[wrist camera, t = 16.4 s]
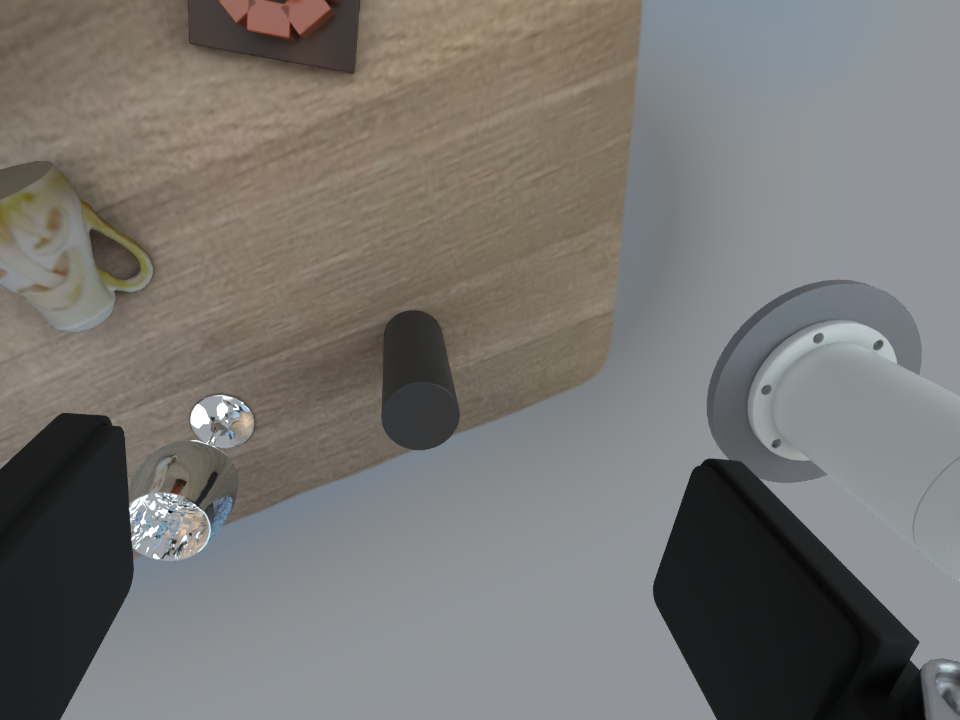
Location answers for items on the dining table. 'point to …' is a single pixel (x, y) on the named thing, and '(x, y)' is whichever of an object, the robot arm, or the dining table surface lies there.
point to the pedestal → (417, 383)
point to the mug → (58, 249)
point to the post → (319, 49)
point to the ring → (279, 16)
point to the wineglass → (189, 483)
